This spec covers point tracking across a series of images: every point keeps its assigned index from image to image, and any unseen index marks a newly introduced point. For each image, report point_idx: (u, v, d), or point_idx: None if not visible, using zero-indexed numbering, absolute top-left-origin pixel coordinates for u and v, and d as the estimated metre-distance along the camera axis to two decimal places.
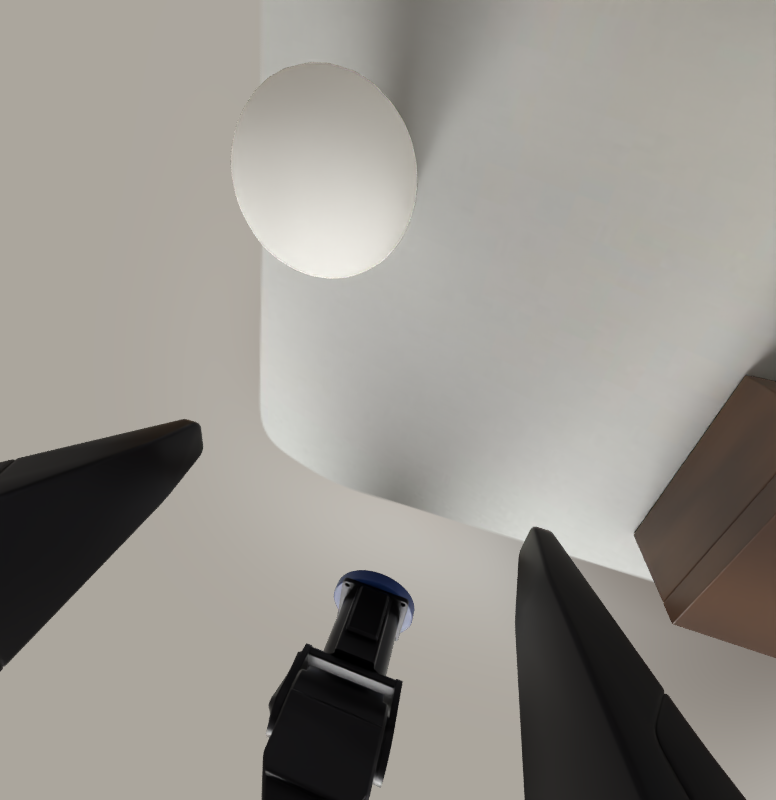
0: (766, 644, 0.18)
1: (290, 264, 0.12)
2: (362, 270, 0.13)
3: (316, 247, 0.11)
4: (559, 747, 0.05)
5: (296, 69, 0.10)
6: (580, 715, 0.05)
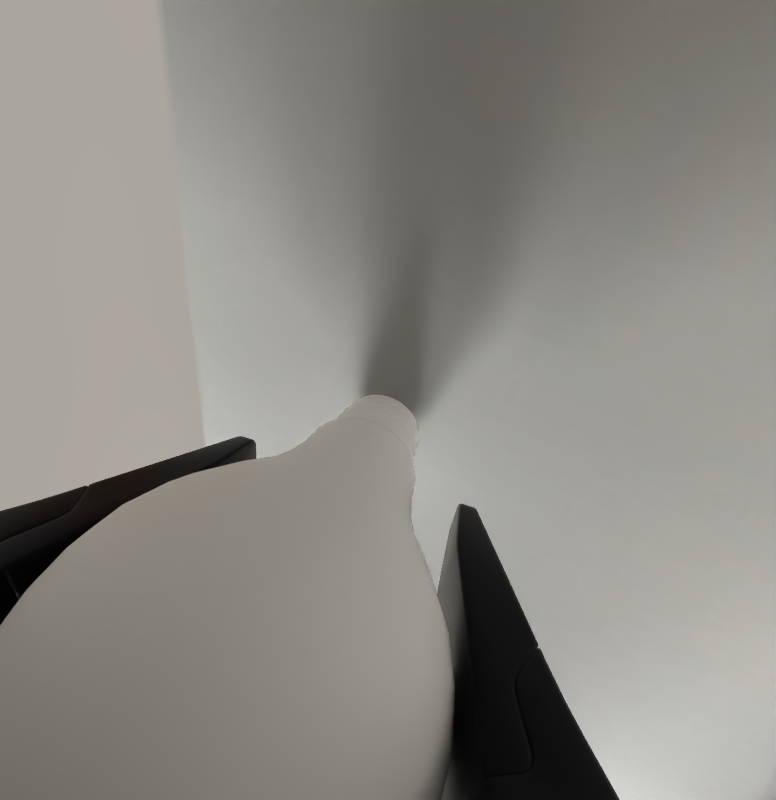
0: None
1: None
2: None
3: None
4: None
5: (71, 707, 0.03)
6: (459, 669, 0.05)
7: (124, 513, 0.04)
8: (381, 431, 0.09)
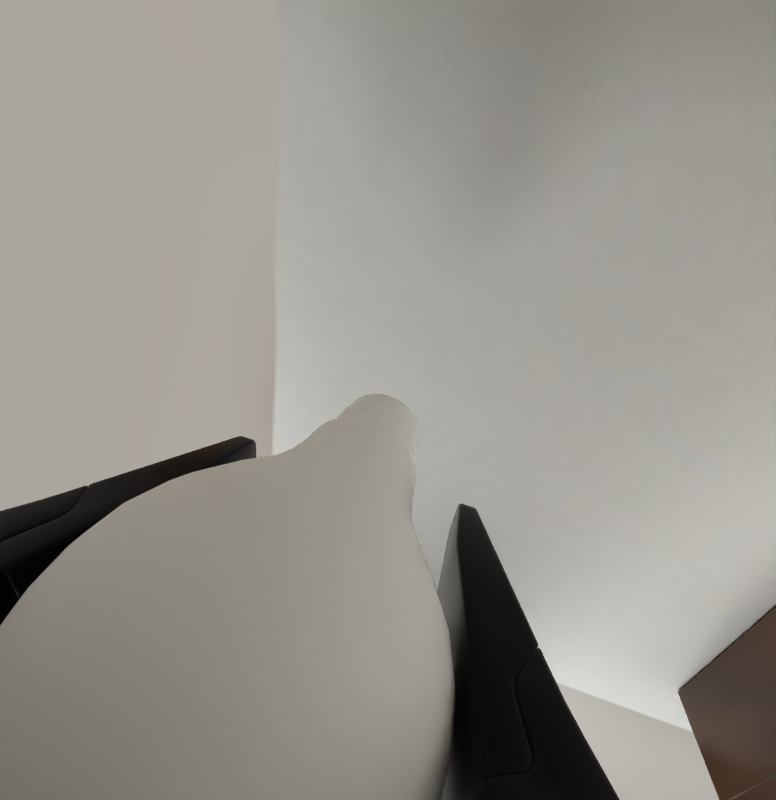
0: None
1: None
2: None
3: None
4: None
5: (73, 703, 0.03)
6: (459, 669, 0.05)
7: (125, 511, 0.04)
8: (381, 430, 0.09)
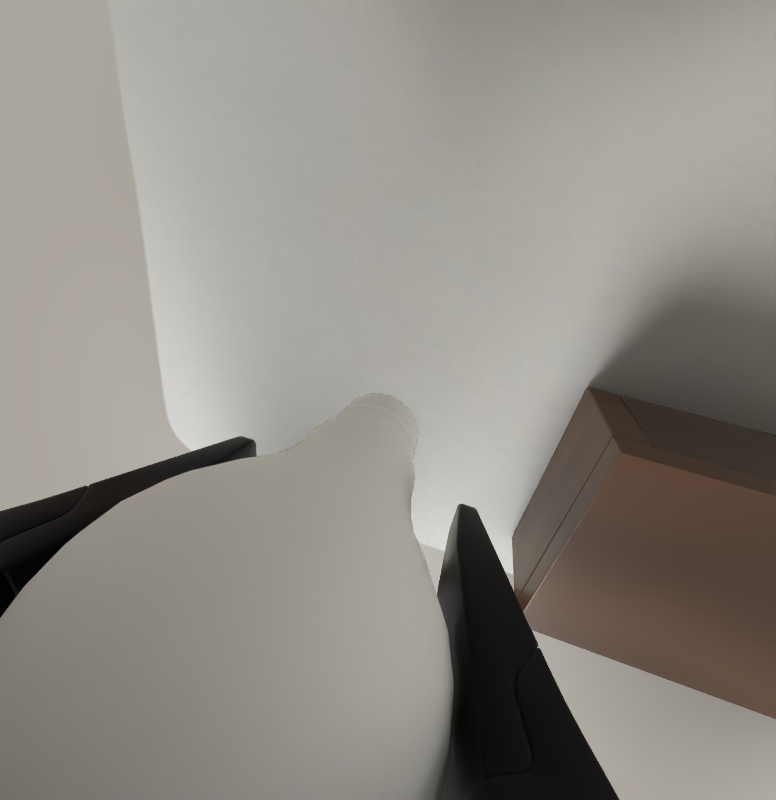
0: (596, 644, 0.19)
1: None
2: None
3: None
4: None
5: (66, 703, 0.03)
6: (459, 669, 0.05)
7: (122, 510, 0.04)
8: (380, 429, 0.09)
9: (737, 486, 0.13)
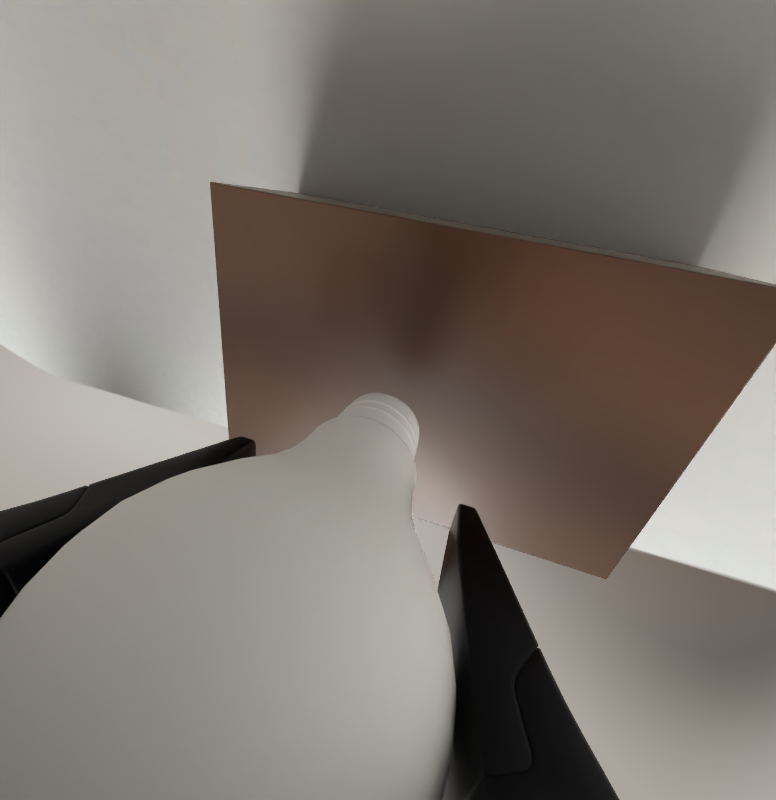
0: None
1: None
2: None
3: None
4: None
5: (67, 705, 0.03)
6: (459, 669, 0.05)
7: (122, 510, 0.04)
8: (381, 429, 0.09)
9: (322, 206, 0.12)
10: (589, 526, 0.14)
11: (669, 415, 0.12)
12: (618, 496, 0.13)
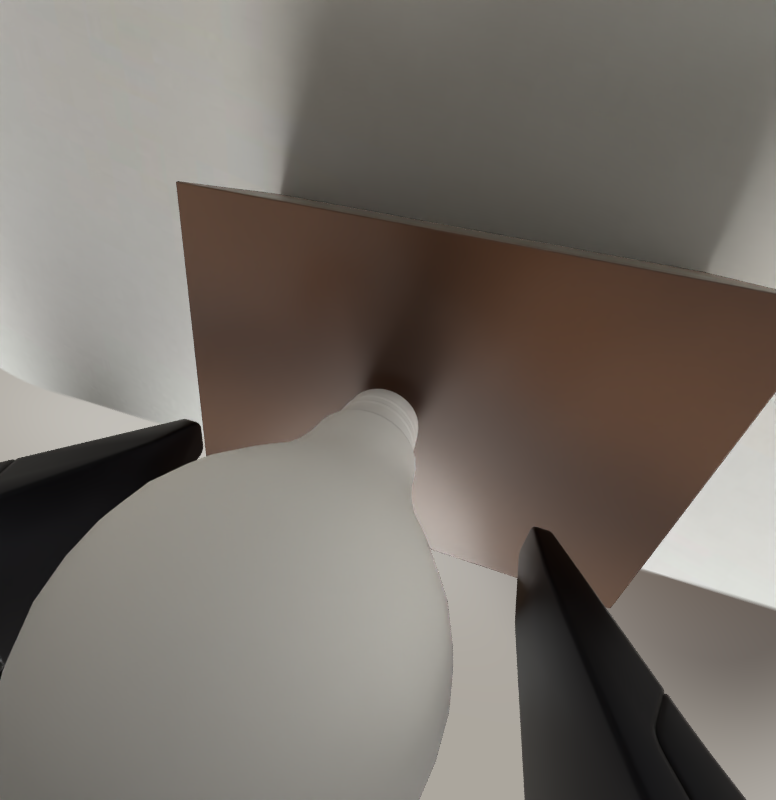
0: None
1: None
2: None
3: None
4: (559, 747, 0.05)
5: (122, 642, 0.03)
6: (580, 715, 0.05)
7: (153, 487, 0.05)
8: (383, 422, 0.09)
9: (298, 208, 0.11)
10: (592, 553, 0.13)
11: (680, 437, 0.11)
12: (623, 522, 0.12)
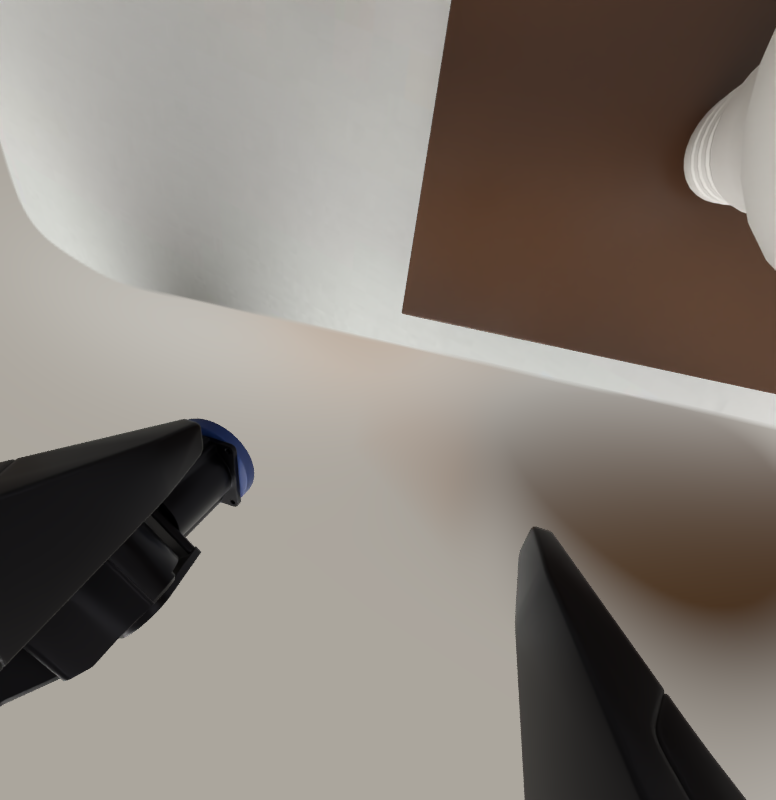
0: (513, 316, 0.13)
1: None
2: None
3: None
4: (559, 747, 0.05)
5: None
6: (580, 715, 0.05)
7: None
8: None
9: None
10: None
11: None
12: None
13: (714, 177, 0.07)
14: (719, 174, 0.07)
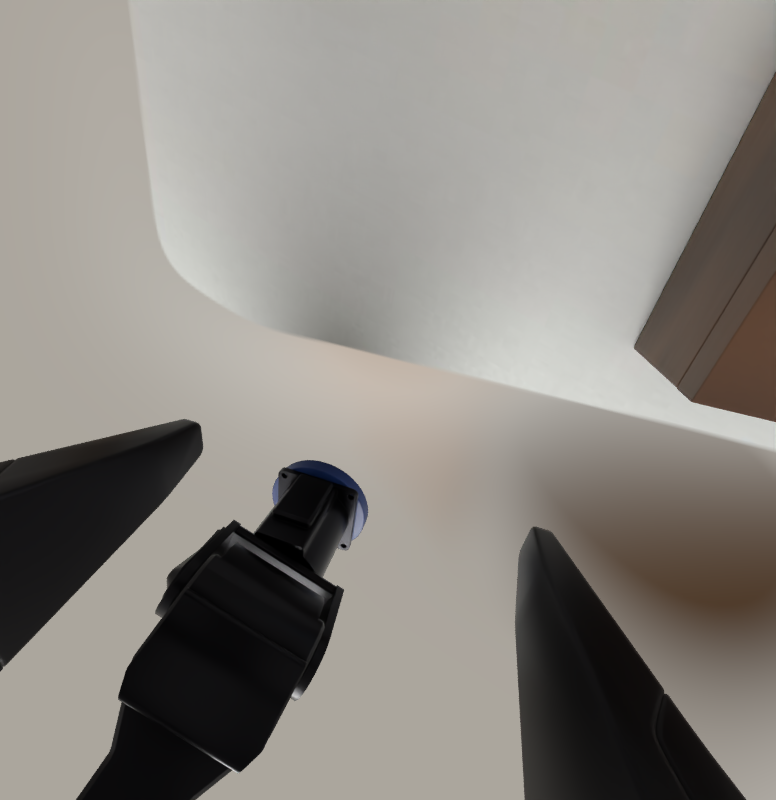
0: None
1: None
2: None
3: None
4: (559, 747, 0.05)
5: None
6: (580, 715, 0.05)
7: None
8: None
9: None
10: None
11: None
12: None
13: None
14: None
